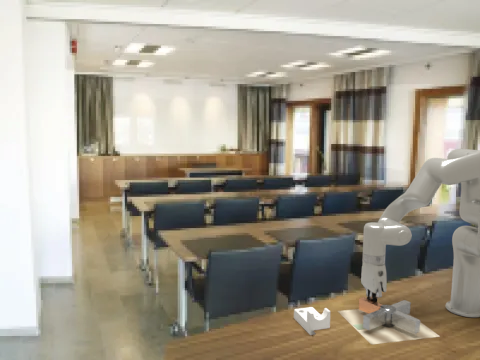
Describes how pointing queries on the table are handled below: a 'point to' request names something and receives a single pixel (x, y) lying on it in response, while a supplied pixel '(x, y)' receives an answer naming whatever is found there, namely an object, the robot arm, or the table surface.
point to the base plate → (384, 329)
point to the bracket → (312, 319)
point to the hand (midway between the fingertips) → (371, 308)
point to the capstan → (388, 315)
